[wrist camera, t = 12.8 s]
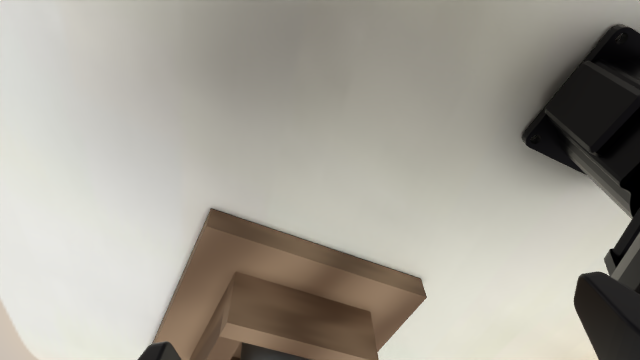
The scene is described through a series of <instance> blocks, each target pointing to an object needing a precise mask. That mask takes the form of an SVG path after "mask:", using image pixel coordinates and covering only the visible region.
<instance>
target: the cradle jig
mask: <svg viewBox="0 0 640 360" xmlns="http://www.w3.org/2000/svg"><path fill="white" fill-rule="evenodd" d="M426 298H427V297H426V293H425V290H424V287H423V284H422V281H421V279H419V278H416V277H413V276H410V275H407V274H404V273H401V272H399V271H396V270H393V269H390V268H387V267H384V266H381V265H378V264H375V263H372V262H369V261H366V260H363V259H360V258H357V257H354V256H351V255H348V254H345V253H342V252H339V251H336V250H333V249H330V248H327V247H324V246H321V245H318V244H315V243H312V242H309V241H306V240H303V239H300V238H297V237H294V236H291V235H288V234H285V233H282V232H279V231H276V230H273V229H270V228H267V227H264V226H262V225H259V224H256V223H253V222H250V221H247V220H244V219H241V218H238V217H235V216H232V215H229V214H226V213H223V212H220V211H217V210H214V209H210V212H209V214H208V216H207V219H206V221H205V223H204V226H203V228H202V230H201V232H200V235H199V237H198V239H197V242H196V244H195V246H194V249H193V251H192V253H191V256H190V258H189V260H188V262H187V265H186V267H185V269H184V272H183V274H182V276H181V279H180V281H179V283H178V286H177V288H176V290H175V292H174V295H173V297H172V299H171V302H170V304H169V306H168V309H167V311H166V313H165V315H164V318H163V320H162V322H161V325H160V327H159V329H158V332H157V334H156V336H155V339H154V341H153V343H158V342H164V341H168V342H170V343H171V344H172V345H173V347H174V348H175V350H176V352H177V353H178V355H179V356H180V358H181V359H182V360H240V356H241V349H242V342H244V343H248V344H252V345H256V346H260V347H264V348H268V349H272V350H276V351H280V352H284V353H288V354H292V355H296V356H300V357H304V358H308V359H312V360H379V359H378V353H377V352H378V351H379V350H380V349H381V348H382V346H383V345H384V344H385V343H386V342H387V341H388V340H389V339H390V338H391V336H392V335H393V334H394V333H395V332H396V331H397V330H398V329H399V328H400V326H401V325H402V324H403V323H404V322H405V321H406V320H407V319H408V318H409V316H410V315H411V314H412V313H413V312H414V311H415V310H416V309H417V308H418V306H419V305H420V304H421V303H422V302H423V301H424V300H425V299H426ZM153 343H152V344H153Z"/></svg>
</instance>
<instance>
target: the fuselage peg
mask: <svg viewBox="0 0 640 360" xmlns="http://www.w3.org/2000/svg"><path fill="white" fill-rule="evenodd" d="M240 360H312V359H308V358H304V357H300V356H296V355H292V354H288V353H284V352H280V351H276V350H272V349H268V348H264V347H260V346H256V345H252V344H248V343H244V342H242V349H241V356H240Z"/></svg>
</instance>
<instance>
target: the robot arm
mask: <svg viewBox="0 0 640 360" xmlns="http://www.w3.org/2000/svg"><path fill="white" fill-rule="evenodd" d="M621 33H622V37H621V38H620V39H619V40H618V41H616V38H617V36H618V35H620V34H621ZM535 135H537V137H536V138H535V139H533V140H531V138H532V137H533V136H535ZM522 140H523V142H524V143H525V144H526V145H527V146H528V147H529V148H531V149H533V150H536V151H538V152H540V153H542V154H544V155H546V156H548V157H550V158H552V159H554V160H557V161H559V162H561V163H563V164H565V165H567V166H569V167H571V168H573V169H575V170H577V171H580V172H582V173H584V174H586V175H588V176H589V177H590V178H591V179H592V180H593V181H594V182H595V183H596V184H597V185H598V186H599V187H600V188H601V189H602V190H603V191H604V192H605V193H606V194H607V195H608V196H609V197H610V198H611V199H612V200H613V201H614V202H615V203H616V204H617V205H618V206H619V207H620V208H621V209H622V210H623V211H624V212H625V213H626V214H627V215H628V216H629V217H630V218H631V219H632V220H631V222H630V223H629V225H628V227H627V228H626V230H625V231H624V233H623V235H622V236H621V238H620V239H619V241H618V242H617V244H616V246H615V247H614V249H610V250H609V252H608V253H607V255H606V256H605V258H604V261H605V264H606V267H607V270H608V273H609V275H610V276H608V275H607V274H605V273H602V272H592V273H585V274H581V275H580V276H579V278H578V281H577V286H576V291H575V296H574V306H575V309H576V312H577V314H578V316H579V318H580V320H581V322H582V325H583V327H584V329H585V331H586V333H587V335H588V337H589V340H590V342H591V344H592V346H593V348H594V350H595V352H596V355H597V357H598V359H599V360H640V34H639V33H638V32H636V31H635V30H633V29H632V28H629V27H627V26H624V25H616V26H614V27H612V28H611V29H610V30H609V31H608V32H607V33H606V34H605V36H604V37H603V38H602V39H601V40H600V42H599V43H598V44H597V45H596V47H595V48H594V49H593V50H592V51H591V53H590V54H589V55H588V56H587V57H586V59H585V60H584V61H583V62H582V63H581V64H580V65H579V67H578V68H577V69H576V70H575V71H574V73H573V74H572V75H571V76H570V78H569V79H568V80H567V81H566V82H565V84H564V85H563V86H562V87H561V88H560V90H559V91H558V92H557V93H556V94H555V96H554V97H553V98H552V99H551V100H550V102H549V103H548V104H547V105H546V107H545V108H544V109H543V110H542V112H541V113H540V114H539V115H538V116H537V118H536V119H535V120H534V121H533V123H532V124H531V125H530V126H529V127H528V129H527V130H526V131H525V132H524V134H523V136H522ZM138 360H182V359H181V358H180V356H179V355H178V353H177V352H176V350H175V348H174V347H173V345H172V344H171V343H170V342H168V341H164V342H158V343H153V344H151V345H150V346H148V347H147V349H146V350H145V351H144V352H143V354H142V355H141V356H140V357H139V359H138Z"/></svg>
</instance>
